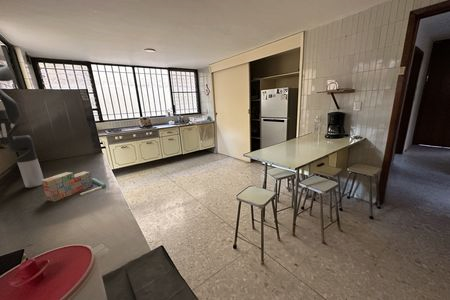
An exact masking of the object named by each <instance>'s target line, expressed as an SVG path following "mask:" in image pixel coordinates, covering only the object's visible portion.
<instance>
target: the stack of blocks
mask: <svg viewBox="0 0 450 300" xmlns="http://www.w3.org/2000/svg"><path fill="white" fill-rule="evenodd" d="M92 178H93V177H92V174H91V171H85V170H84V171H81V172H77V173H75V174H74V172H70V171H69V172H68V171H66V172H62V173H58V174H56V175H53V176H50V177H47V178H44V179H43V180H41V181H42V188H43V191H44V193H45V195H46V200H47V201H48V202H58V201H59V200H61V199H64V197H65V198H67V197H69V196H72V195H74V194H76V193H78V192H80V191H84V190H86V189H88V188H91V187H93V186H94V182H93V181H92Z"/></svg>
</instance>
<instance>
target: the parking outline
mask: <svg viewBox="0 0 450 300" xmlns="http://www.w3.org/2000/svg"><path fill="white" fill-rule="evenodd" d="M92 181H93V184H96V185H98V187H95V188H93V189H88V190H87V191H83V192H81V193H79V195H80V196H83V195H86V194H89V193H93V192H95V191H98V190H100V189H103V188H106V187H107V184H106V183H105V182H103V181H101V180H98V179H97V178H95V177H92Z"/></svg>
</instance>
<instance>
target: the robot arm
mask: <svg viewBox="0 0 450 300" xmlns="http://www.w3.org/2000/svg"><path fill="white" fill-rule="evenodd" d="M13 78H14V75H13V72H12V71H11V69H10V67H9V66H7V65H6V64H0V82H9V81H10V82H11V81H12V80H13ZM21 114H22V113H21V111H20V108H19V105H18V103H17V102H16V101H15V100H14V99H13V98H12V97H11V96H9V95H8V94H7V93H5V92H4V91H3V90H2V89H1V88H0V131H1V132H0V144H1V145H3V146H7V148H8V149H9V150H10V152H13V153H15V152H22V151H26V152H25V153H23V154H21V155H20V156H17V157H16V162H17V163H16V164H17V165H18V169H19V171H20V175H21V177H22V180H23V183H24V186H25V188H34V187H35V188H36V187H39V186H41V185H42V186H43V184H42V181H41V180H43V179H45V178H44V175H43V172H42V171H43V170H42V169H41V166H40V163H39V159H38V155H37V152H36V149H35V144H34V141H33V138H32V137H31V135H28V134H26V135H17V136H14V133H15V131H16V130H17V129H18V128H19V125H17V123H18V122H19V120H20V118H21Z"/></svg>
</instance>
